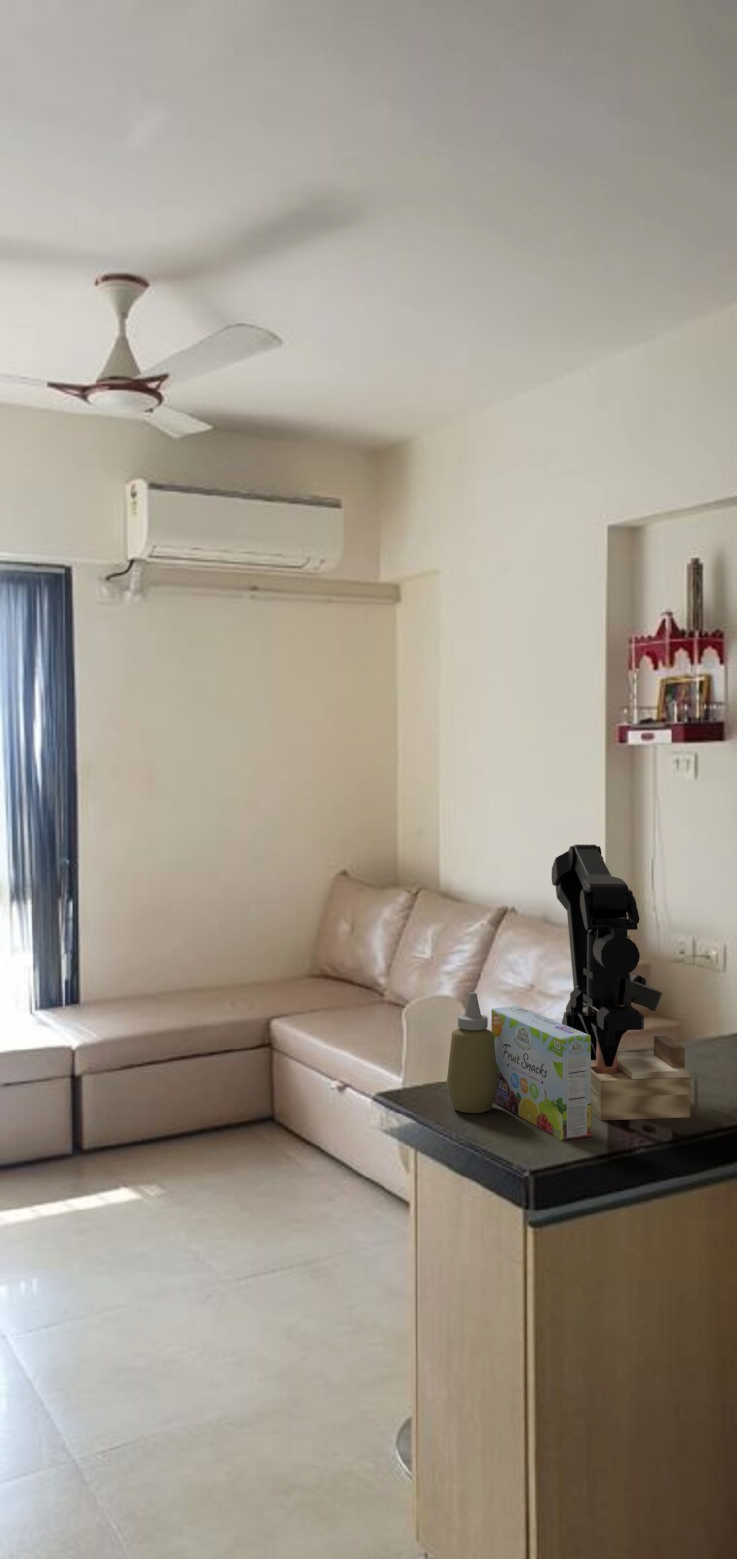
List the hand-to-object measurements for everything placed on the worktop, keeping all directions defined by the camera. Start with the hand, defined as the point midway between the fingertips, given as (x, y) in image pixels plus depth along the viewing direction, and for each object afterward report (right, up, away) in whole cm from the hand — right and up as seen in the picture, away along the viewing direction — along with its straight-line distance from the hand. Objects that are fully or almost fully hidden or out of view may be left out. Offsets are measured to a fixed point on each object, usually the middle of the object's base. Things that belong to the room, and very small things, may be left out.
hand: (604, 1063), depth 195 cm
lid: (+7, -1, +1) cm, 7 cm away
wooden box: (+4, -7, +1) cm, 8 cm away
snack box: (-11, -8, -5) cm, 14 cm away
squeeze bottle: (-21, -7, 0) cm, 22 cm away
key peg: (0, -4, 0) cm, 4 cm away
